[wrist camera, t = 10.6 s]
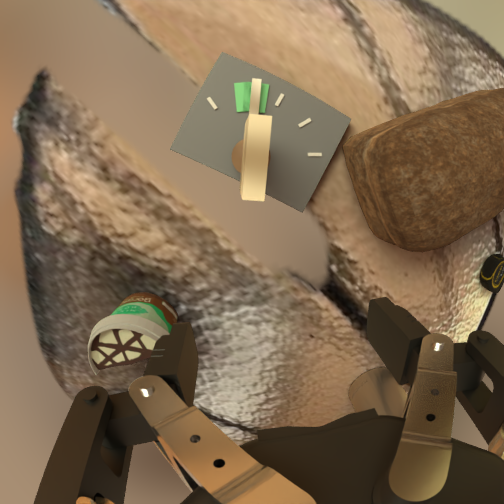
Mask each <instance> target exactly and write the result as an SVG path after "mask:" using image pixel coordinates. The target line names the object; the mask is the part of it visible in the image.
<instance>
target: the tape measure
mask: <svg viewBox="0 0 504 504" xmlns="http://www.w3.org/2000/svg"><path fill="white" fill-rule="evenodd" d="M480 280H481V284H482V285H483V286H484V287H485V288H486V289H487V290H489V291H491V292H493V293H498V292H499V291H500V289H501V287H502V285H503V283H504V257H502V256H501V255H500V254H493V255H491V256H489V257H488V259H487V260H486V261H485V263H484V265H483V267H482V271H481V275H480Z"/></svg>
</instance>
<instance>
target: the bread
mask: <svg viewBox="0 0 504 504" xmlns="http://www.w3.org/2000/svg"><path fill="white" fill-rule="evenodd" d="M343 150H344V154H345V159H346V164H347V168H348V170H349V173H350V176H351V179H352V182H353V186H354V189H355V192H356V195H357V197H358V200H359V203H360V206H361V209H362V211H363V213H364V215H365V218H366V220H367V222H368V225H369V227H370V229H371V230H372V232H373V233H374V234H375V235H376V236H377V237H378V238H380V239H382V240H384V241H386V242H389V243H391V244H394V245H398V246H399V247H400V248H403V249H406V250H408V251H416V252H425V251H430V250H435V249H438V248H441V247H443V246H446V245H449V244H451V243H452V242H454V241H456V240H457V239H459V238H461V237H462V236H464V235H465V234H467V233H468V232H470V231H472V230H473V229H475V228H477V227H478V226H480V225H482V224H484V223H485V222H487V221H489V220H490V219H492V218H493V217H495V216H496V215H497V214H499V213H500V212H501V211H502V210H503V209H504V88H499V89H495V90H480V91H475V92H472V93H469V94H465V95H462V96H459V97H456V98H453V99H450V100H446V101H442V102H440V103H438V104H436V105H434V106H431V107H428V108H425V109H422V110H419V111H416V112H413V113H409V114H406V115H403V116H401V117H398V118H396V119H393V120H391V121H388V122H385V123H383V124H380V125H378V126H375V127H373V128H371V129H368V130H366V131H363V132H361V133H359V134H357V135H354V136H352V137H350V139H349V140H348V141H347V142H346V143H345V144H344V145H343Z"/></svg>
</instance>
